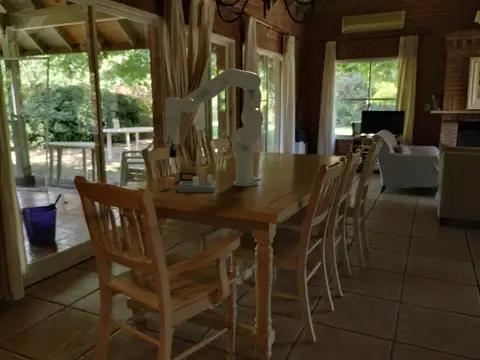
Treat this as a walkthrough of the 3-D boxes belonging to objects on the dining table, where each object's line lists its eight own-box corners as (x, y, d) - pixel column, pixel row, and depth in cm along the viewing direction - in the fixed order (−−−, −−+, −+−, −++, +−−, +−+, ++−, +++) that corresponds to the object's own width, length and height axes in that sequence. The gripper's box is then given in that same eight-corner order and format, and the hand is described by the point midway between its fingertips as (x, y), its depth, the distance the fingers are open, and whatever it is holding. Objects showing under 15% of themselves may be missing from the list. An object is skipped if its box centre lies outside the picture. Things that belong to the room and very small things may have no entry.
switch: (198, 185, 210) (198, 176, 209) (197, 186, 207) (197, 177, 206) (193, 185, 210) (193, 176, 209) (193, 186, 207) (192, 177, 206)
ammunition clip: (179, 180, 237) (178, 160, 235) (181, 180, 239) (180, 160, 237) (196, 181, 234) (195, 161, 231) (197, 181, 235) (196, 160, 233)
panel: (216, 187, 218) (216, 180, 218) (214, 192, 207) (214, 185, 206) (181, 187, 219) (181, 180, 218) (177, 192, 207) (177, 185, 206)
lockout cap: (175, 188, 217) (174, 177, 216) (173, 189, 213) (173, 178, 212) (166, 188, 217) (166, 177, 216) (165, 189, 213) (164, 178, 212)
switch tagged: (212, 183, 216) (212, 174, 215) (212, 184, 213) (211, 175, 212) (207, 183, 216) (207, 174, 215) (207, 184, 213) (207, 175, 212)
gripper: (170, 121, 216) (170, 155, 219) (161, 122, 201) (161, 158, 205) (183, 121, 215) (183, 156, 218) (175, 122, 200) (175, 159, 204)
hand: (172, 157), depth 211 cm, fingers closed
